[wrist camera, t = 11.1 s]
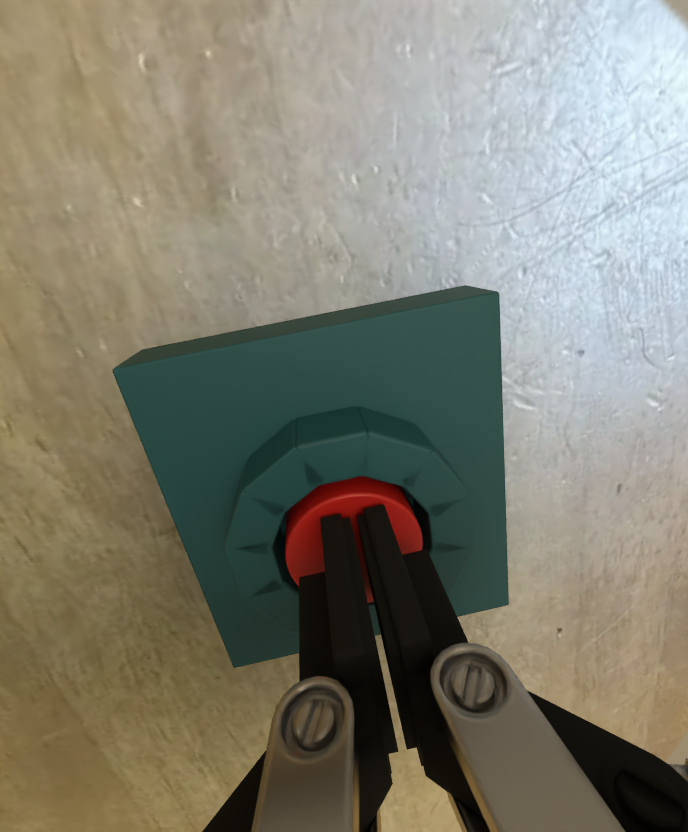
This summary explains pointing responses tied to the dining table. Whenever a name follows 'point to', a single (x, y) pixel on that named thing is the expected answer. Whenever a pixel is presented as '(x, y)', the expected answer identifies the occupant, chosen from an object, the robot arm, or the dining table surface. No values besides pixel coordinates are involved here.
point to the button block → (328, 446)
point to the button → (350, 502)
